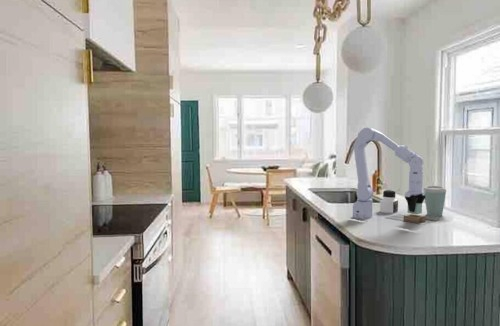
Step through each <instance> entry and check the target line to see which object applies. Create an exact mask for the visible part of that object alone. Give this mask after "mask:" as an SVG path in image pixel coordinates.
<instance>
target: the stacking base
mask: <svg viewBox="0 0 500 326" xmlns="http://www.w3.org/2000/svg"><path fill="white" fill-rule="evenodd" d="M385 219H387V220H392V221H398V222H399V221H400V222H405V223H409V224H416V225H421V226H425V225H429V224H432V223H433V224H434V223H435V222H438V220H437V219H430V218H427V216H426V215H424V214H411V213H407V214H401V213H400V214H396V215H391V216H390V215H389V216H386V217H385Z"/></svg>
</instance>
